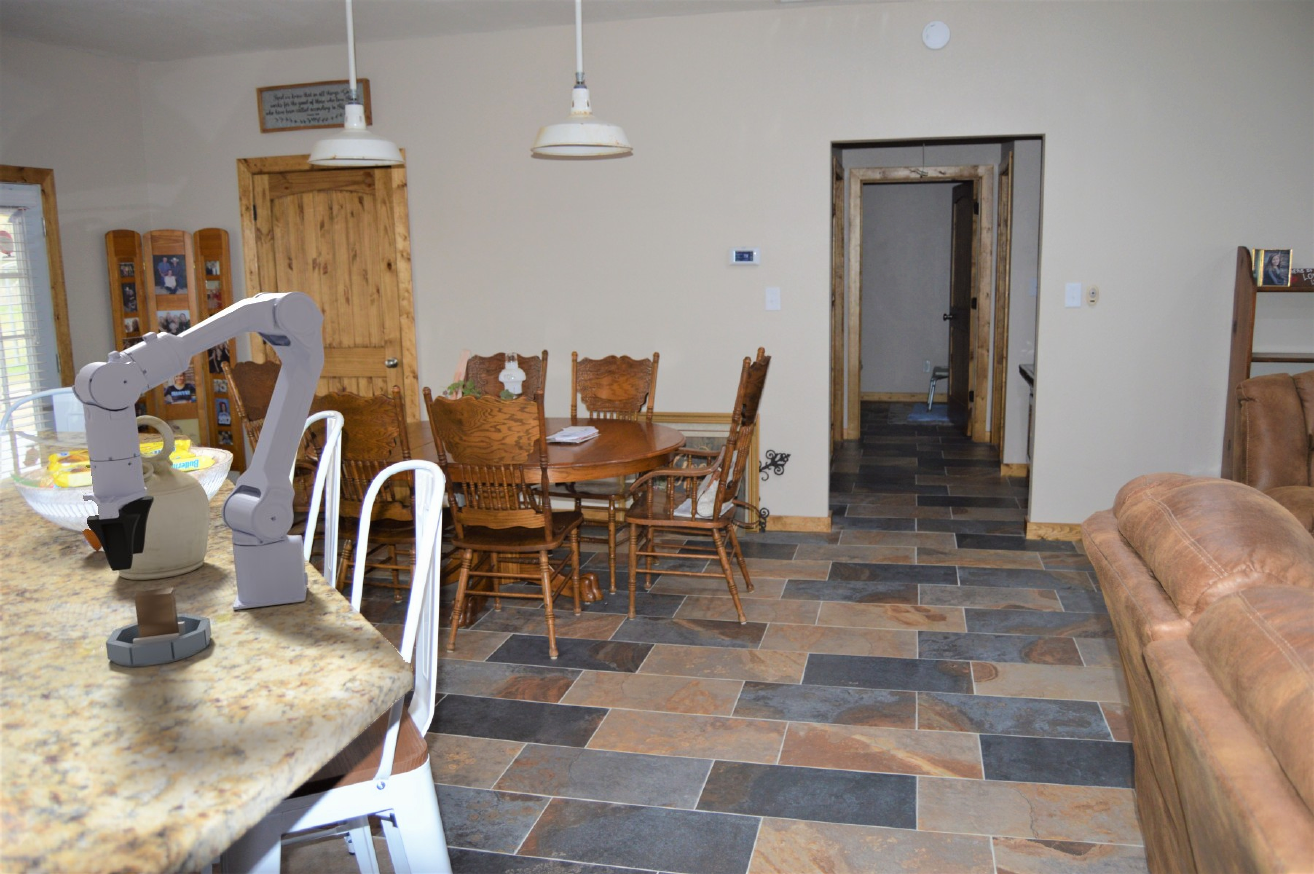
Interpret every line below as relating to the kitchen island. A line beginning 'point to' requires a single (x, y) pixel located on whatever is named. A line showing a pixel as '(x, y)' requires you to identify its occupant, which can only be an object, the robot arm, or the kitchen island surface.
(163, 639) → the blue-grey octagonal tray
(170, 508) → the jug
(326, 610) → the kitchen island surface
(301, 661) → the kitchen island surface
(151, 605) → the wooden rectangular block
